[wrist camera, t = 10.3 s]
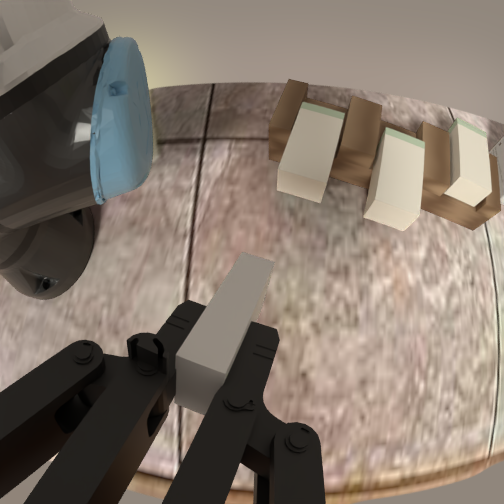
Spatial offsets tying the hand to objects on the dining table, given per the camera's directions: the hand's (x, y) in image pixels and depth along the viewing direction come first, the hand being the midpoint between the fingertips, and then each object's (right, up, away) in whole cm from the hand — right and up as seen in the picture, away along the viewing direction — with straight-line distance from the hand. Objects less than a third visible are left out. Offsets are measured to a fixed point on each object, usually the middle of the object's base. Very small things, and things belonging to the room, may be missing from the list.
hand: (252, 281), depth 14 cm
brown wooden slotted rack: (+17, +12, +21) cm, 30 cm away
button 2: (+6, +11, +17) cm, 21 cm away
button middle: (+15, +8, +16) cm, 23 cm away
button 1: (+25, +11, +16) cm, 32 cm away
